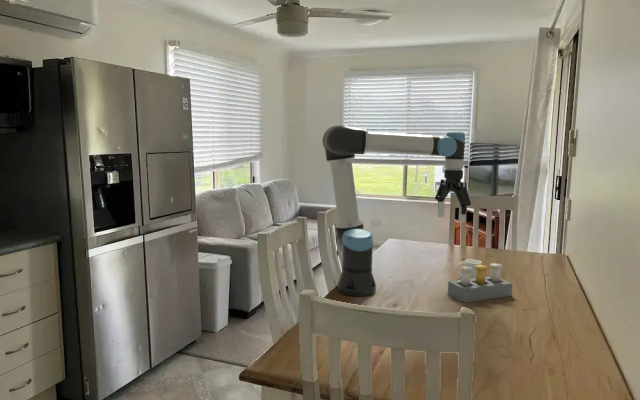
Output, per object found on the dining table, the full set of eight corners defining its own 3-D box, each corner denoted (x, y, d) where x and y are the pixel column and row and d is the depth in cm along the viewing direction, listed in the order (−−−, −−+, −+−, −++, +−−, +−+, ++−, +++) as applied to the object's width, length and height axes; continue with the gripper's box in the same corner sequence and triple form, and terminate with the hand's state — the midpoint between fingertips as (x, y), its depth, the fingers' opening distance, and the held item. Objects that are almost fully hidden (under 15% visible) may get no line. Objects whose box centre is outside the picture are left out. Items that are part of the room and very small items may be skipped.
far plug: (494, 283, 179) (495, 266, 178) (486, 280, 183) (487, 263, 182) (503, 282, 180) (504, 265, 179) (495, 279, 184) (496, 262, 184)
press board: (464, 302, 171) (464, 289, 171) (447, 293, 181) (448, 281, 180) (511, 295, 179) (512, 283, 178) (493, 287, 188) (494, 275, 188)
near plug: (464, 287, 174) (465, 270, 173) (456, 283, 178) (457, 267, 177) (473, 286, 175) (474, 269, 175) (466, 282, 180) (467, 266, 179)
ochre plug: (479, 285, 176) (480, 268, 175) (471, 281, 180) (472, 265, 180) (488, 284, 178) (489, 267, 177) (481, 280, 182) (482, 264, 181)
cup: (480, 283, 195) (481, 264, 193) (455, 279, 198) (456, 261, 197) (481, 278, 201) (482, 260, 200) (457, 275, 205) (458, 257, 204)
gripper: (482, 171, 185) (478, 224, 188) (442, 167, 208) (439, 214, 210) (467, 171, 182) (463, 225, 185) (428, 167, 205) (426, 214, 208)
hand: (450, 219), depth 198 cm, fingers open, 13 cm apart
